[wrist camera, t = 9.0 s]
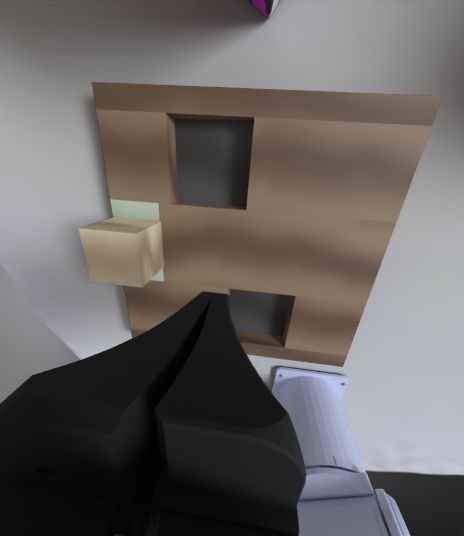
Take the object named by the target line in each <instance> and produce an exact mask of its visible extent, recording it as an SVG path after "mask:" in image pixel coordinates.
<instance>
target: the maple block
mask: <svg viewBox="0 0 464 536" xmlns="http://www.w3.org/2000/svg"><path fill="white" fill-rule="evenodd" d="M78 230H79V234H80V239H81V243H82V247H83V252H84V256H85V261H86V265H87V269H88V274H89V278H90V282H97V283H106V284H115V285H124V286H133V287H141V288H142V287H143V286H144V285H146V284H147V283H148V282H149V281H150V280H151V279H152V278H153V277H154V276H155V275H156V274H157V273H158V272H159V271H160V270H161V269H162V268H163V267H164V258H163V244H162V229H161V221H151V220H139V219H128V218H117V217H114V218H111V219H107V220H104V221H101V222H97V223H94V224H91V225H88V226H84V227H81V228H78Z"/></svg>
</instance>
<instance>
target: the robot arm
mask: <svg viewBox="0 0 464 536" xmlns="http://www.w3.org/2000/svg"><path fill="white" fill-rule="evenodd" d="M229 299H230V296H229V295H228V294H223V293H214V292H205V291H202V292H201V293H200V294H198V295H197V296H196V297H195V298H193V299H192V300H191V301H190V302H189V303H187V304H186V305H185V306H183V307H182V308H181V309H180V310H178V311H177V312H176V313H174V314H173V315H171V316H170V317H168V318H167V319H166V320H164V321H163V322H161V323H160V324H158V325H156V326H155V327H153V328H151V329H149V330H148V331H146V332H144V333H142V334H140V335H138V336H136V337H134V338H132V339H130V340H128V341H126V342H124V343H122V344H119V345H117V346H115V347H113V348H111V349H108V350H106V351H103V352H101V353H98V354H96V355H93V356H90V357H88V358H85V359H82V360H79V361H76V362H74V363H70V364H67V365H64V366H61V367H58V368H54V369H52V370H48V371H45V372H42V373H38V374H35V375H32V376H31V377H30V378H29V379H27V380H26V381H25V382H24V383H23V384H22V385H21V386H20V387H19V388H17V389H16V390H15V391H14V392H13V393H12V394H11V395H9V396H8V397H7V398H6V399H5V400H4V401H3V402H2V403H1V404H0V536H410V535H409V532H408V530H407V527H406V525H405V523H404V520H403V518H402V516H401V514H400V511H399V509H398V507H397V505H396V502H395V500H394V499H393V498H391V497H390V496H389V495H388V494H386V493H385V491H384V490H383V489H375V491H376V494H377V496H378V499H379V502H380V505H381V508H380V506H379V503H378V500H377V498H376V496H375V493H374V491H373V488H372V486H371V483H370V481H369V478H368V476H367V474H366V472H365V469H364V466H363V464H362V461H361V458H360V455H359V453H358V450H357V447H356V444H355V441H354V439H353V436H352V433H351V430H350V428H349V425H348V422H347V419H346V417H345V414H344V411H343V408H342V406H341V403H340V401H341V398H342V396H343V393H344V391H345V388H346V386H347V383H348V378H347V377H346V376H344V375H337V374H330V373H322V372H315V371H307V370H300V369H292V368H285V367H278V368H277V369H276V373H275V378H274V383H273V388H272V392H271V391H270V390H269V388H268V387H267V386H266V384H265V383H264V382H263V380H262V379H261V377H260V376H259V374H258V373H257V371H256V369H255V368H254V366H253V365H252V363H251V361H250V360H249V358H248V356H247V354H246V352H245V351H244V349H243V346H242V344H241V342H240V340H239V338H238V335H237V333H236V330H235V327H234V324H233V321H232V317H231V313H230V308H229ZM279 374H280V375H279ZM381 510H382V511H381ZM382 512H383V514H382ZM383 515H384V517H383ZM384 518H385V519H384ZM385 521H386V522H385ZM386 524H387V525H386ZM388 529H389V530H388Z"/></svg>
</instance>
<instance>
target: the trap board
mask: <svg viewBox="0 0 464 536" xmlns="http://www.w3.org/2000/svg"><path fill="white" fill-rule="evenodd" d="M92 87H93V93H94V100H95V106H96V112H97V118H98V125H99V131H100V137H101V144H102V150H103V156H104V163H105V169H106V175H107V182H108V188H109V194H110V201H111V207H112V213H113V218H114V217H117V218H128V219H139V220H151V221H161V229H162V244H163V258H164V267H163V268H162V269H161V270H160V271H159V272H158V273H157V274H156V275H155V276H154V277H153V278H152V279H151V280H150V281H149V282H148V283H147V284H146V285H144V286H143V287H142V288H141V287H133V286H124V289H125V296H126V302H127V308H128V315H129V321H130V327H131V334H132V338H134V337H136V336H138V335H140V334H142V333H144V332H146V331H148V330H149V329H151V328H153V327H155V326H156V325H158V324H160V323H161V322H163V321H164V320H166V319H167V318H168V317H170V316H171V315H173V314H174V313H176V312H177V311H178V310H180V309H181V308H182V307H183V306H185V305H186V304H187V303H189V302H190V301H191V300H192V299H193V298H195V297H196V296H197V295H198V294H200V293H201V292H202V291H205V292H214V293H223V294H228V295H229V296H230V299H229V308H230V313H231V317H232V321H233V324H234V327H235V330H236V333H237V335H238V338H239V340H240V342H241V344H242V346H243V349H244V351H245V352H246V354H248V355H256V356H264V357H271V358H279V359H287V360H294V361H302V362H310V363H317V364H325V365H333V366H340V367H343V365H344V362H345V360H346V357H347V354H348V351H349V349H350V346H351V343H352V341H353V338H354V335H355V333H356V330H357V327H358V324H359V322H360V319H361V316H362V314H363V311H364V308H365V306H366V303H367V300H368V297H369V295H370V292H371V289H372V287H373V284H374V281H375V279H376V276H377V273H378V271H379V268H380V265H381V262H382V260H383V257H384V254H385V252H386V249H387V246H388V244H389V241H390V238H391V235H392V233H393V230H394V227H395V225H396V222H397V219H398V217H399V214H400V211H401V208H402V206H403V203H404V200H405V198H406V195H407V192H408V190H409V187H410V184H411V181H412V179H413V176H414V173H415V171H416V168H417V165H418V163H419V160H420V157H421V154H422V152H423V149H424V146H425V144H426V141H427V138H428V136H429V133H430V130H431V127H432V125H433V122H434V119H435V117H436V114H437V111H438V109H439V106H440V103H441V100H442V98H443V96H425V95H400V94H375V93H350V92H325V91H300V90H275V89H250V88H225V87H200V86H176V85H151V84H126V83H101V82H92Z"/></svg>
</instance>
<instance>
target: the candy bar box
mask: <svg viewBox="0 0 464 536" xmlns="http://www.w3.org/2000/svg"><path fill="white" fill-rule="evenodd" d="M249 1H250V2H251V3H252V4H253V5H254V6H255V7H256V8H258V9H259V10H260V11H261V12H262V13H263V14H264V15H265V16H266V17H267V18H268V19H269V18H270V17H271V15H272V14H273V12H274V10H275V8H276V7H277V5H278V3H279V1H280V0H249Z"/></svg>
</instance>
